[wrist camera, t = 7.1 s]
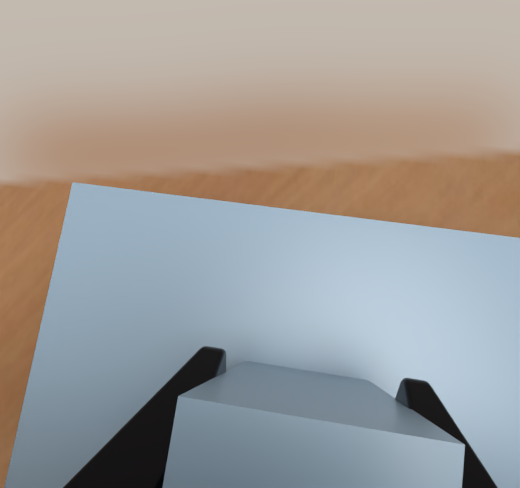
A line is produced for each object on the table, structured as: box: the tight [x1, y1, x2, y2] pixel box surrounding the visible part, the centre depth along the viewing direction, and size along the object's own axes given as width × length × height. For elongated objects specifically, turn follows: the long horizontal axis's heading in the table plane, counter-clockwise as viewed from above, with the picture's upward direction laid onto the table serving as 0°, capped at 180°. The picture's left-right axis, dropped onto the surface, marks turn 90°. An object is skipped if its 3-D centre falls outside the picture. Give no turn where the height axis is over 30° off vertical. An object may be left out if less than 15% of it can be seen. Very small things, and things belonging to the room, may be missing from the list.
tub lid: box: [4, 182, 520, 488], centre depth 9 cm, size 11×14×8 cm
